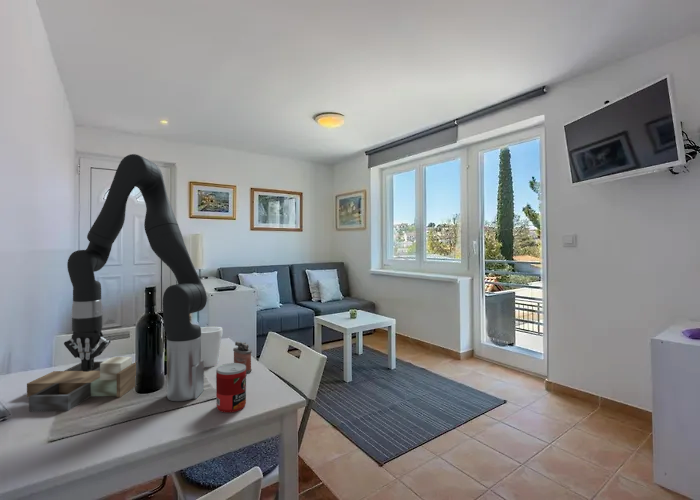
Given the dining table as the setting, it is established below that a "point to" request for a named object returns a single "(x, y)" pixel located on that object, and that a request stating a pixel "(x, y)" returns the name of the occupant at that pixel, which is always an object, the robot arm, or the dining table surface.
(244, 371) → the canned food
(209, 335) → the foam cup
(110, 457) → the dining table surface
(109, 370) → the block
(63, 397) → the box
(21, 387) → the dining table surface
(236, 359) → the lighter
